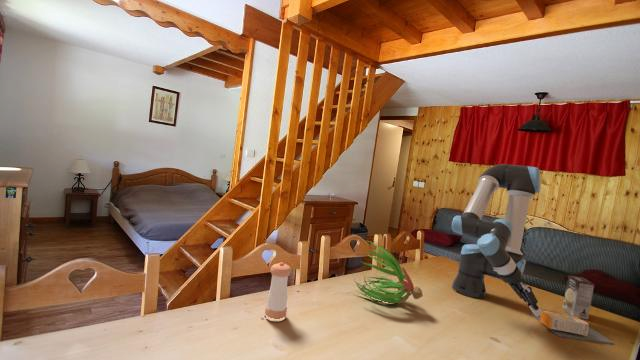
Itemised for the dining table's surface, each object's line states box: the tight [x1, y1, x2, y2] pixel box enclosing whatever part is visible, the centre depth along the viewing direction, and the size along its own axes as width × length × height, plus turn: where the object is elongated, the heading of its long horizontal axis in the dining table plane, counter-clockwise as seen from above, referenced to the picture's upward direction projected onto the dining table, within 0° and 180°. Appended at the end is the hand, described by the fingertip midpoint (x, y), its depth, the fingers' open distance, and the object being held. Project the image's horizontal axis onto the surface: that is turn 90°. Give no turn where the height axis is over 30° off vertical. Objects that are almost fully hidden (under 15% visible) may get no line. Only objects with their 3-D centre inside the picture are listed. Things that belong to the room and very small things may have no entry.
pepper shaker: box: [264, 261, 292, 319], centre depth 111 cm, size 7×7×19 cm
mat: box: [530, 312, 614, 345], centre depth 131 cm, size 20×18×1 cm
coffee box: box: [562, 275, 595, 320], centre depth 147 cm, size 9×6×16 cm
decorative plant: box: [353, 240, 424, 305], centre depth 134 cm, size 26×25×30 cm
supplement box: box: [539, 309, 590, 336], centre depth 128 cm, size 8×5×13 cm
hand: (538, 313), depth 129 cm, fingers closed
